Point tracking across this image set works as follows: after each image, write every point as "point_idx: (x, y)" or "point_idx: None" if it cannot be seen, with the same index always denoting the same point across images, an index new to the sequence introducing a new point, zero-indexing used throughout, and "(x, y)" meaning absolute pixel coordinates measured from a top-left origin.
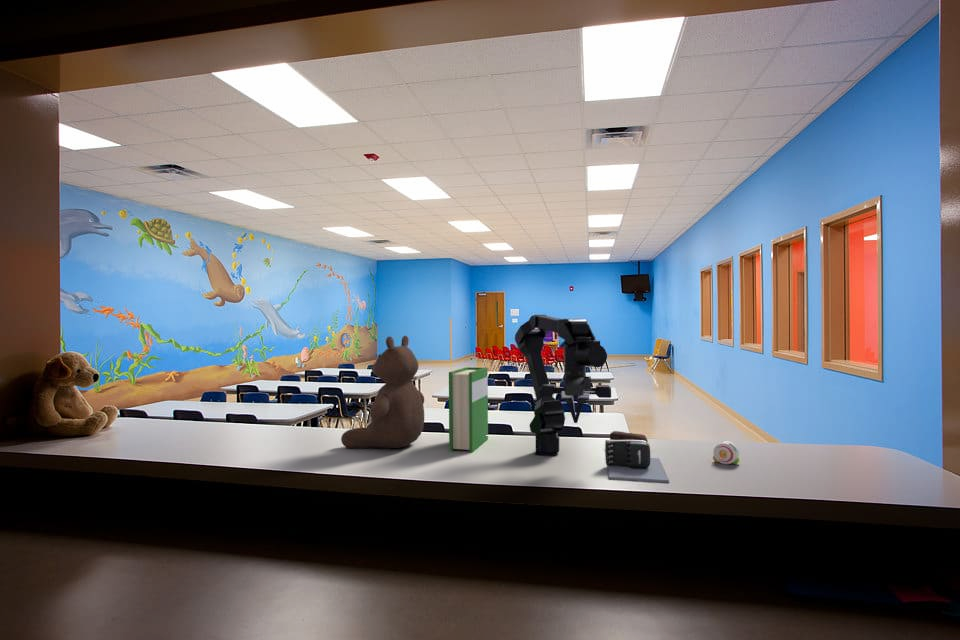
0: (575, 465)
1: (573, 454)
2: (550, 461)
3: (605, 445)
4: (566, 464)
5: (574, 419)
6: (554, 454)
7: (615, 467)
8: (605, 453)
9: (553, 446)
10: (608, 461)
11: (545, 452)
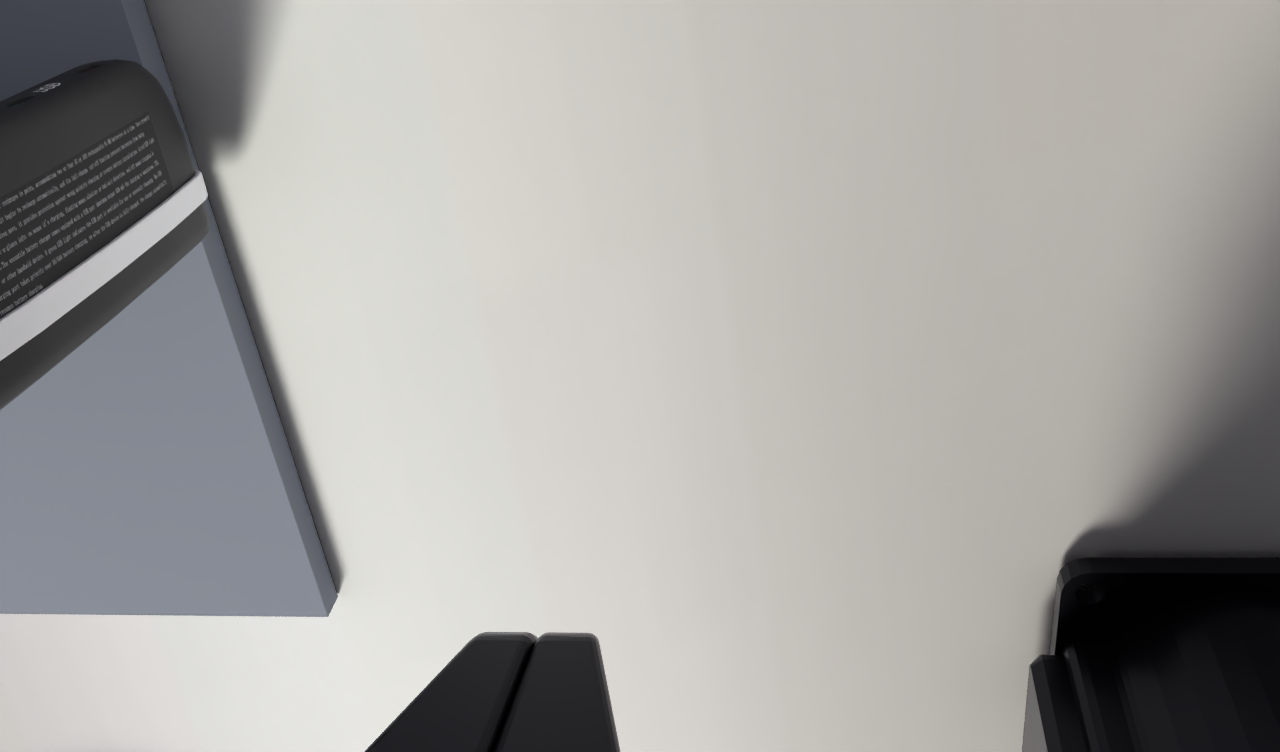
0: (713, 137)
1: (808, 667)
2: (1172, 270)
3: (16, 306)
4: (875, 158)
5: (547, 716)
6: (1100, 568)
7: (32, 65)
8: (111, 237)
9: (1139, 709)
10: (75, 68)
11: (1262, 600)
